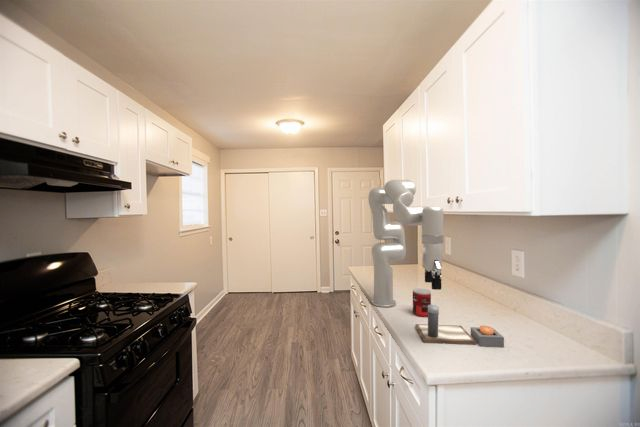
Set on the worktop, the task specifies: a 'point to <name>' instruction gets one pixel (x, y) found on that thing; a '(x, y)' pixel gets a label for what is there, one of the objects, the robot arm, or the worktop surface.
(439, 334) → the board
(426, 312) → the canned food
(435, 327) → the grey tall cylinder
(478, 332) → the button housing
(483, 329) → the button
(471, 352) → the worktop surface
